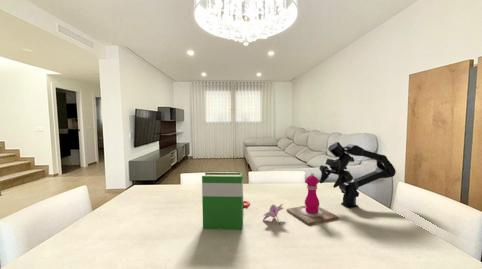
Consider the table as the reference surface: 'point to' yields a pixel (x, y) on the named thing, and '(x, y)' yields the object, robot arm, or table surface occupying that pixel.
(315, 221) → the brown flat square slab
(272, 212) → the lily
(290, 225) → the table surface
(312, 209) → the pepper mill
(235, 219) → the hardback book
